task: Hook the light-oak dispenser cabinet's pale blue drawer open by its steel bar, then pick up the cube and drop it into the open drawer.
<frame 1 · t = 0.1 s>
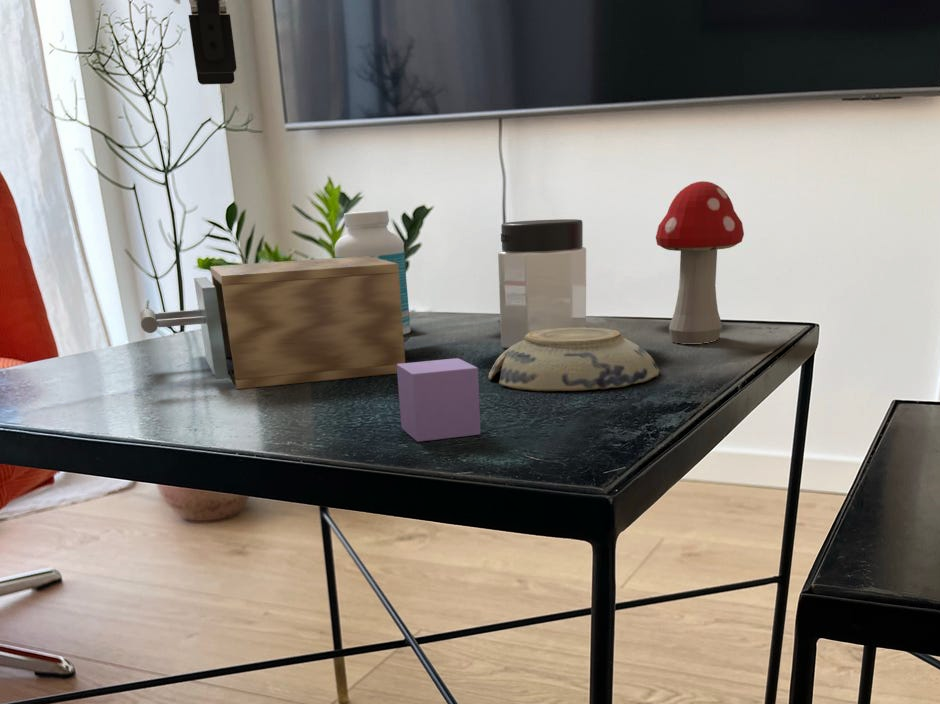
hand: (216, 78, 86), 25 cm above the table, tool pointing down, fingers open, 9 cm apart
pill bottle: (377, 345, 112), on the table
decorative mushroom: (694, 342, 105), on the table
drawer: (253, 323, 95), point 5 cm above the table, slide at 0.5 cm
cube: (440, 431, 72), on the table
jar: (543, 347, 106), on the table
decorative bowl: (572, 377, 90), on the table
cabinet: (312, 370, 98), on the table
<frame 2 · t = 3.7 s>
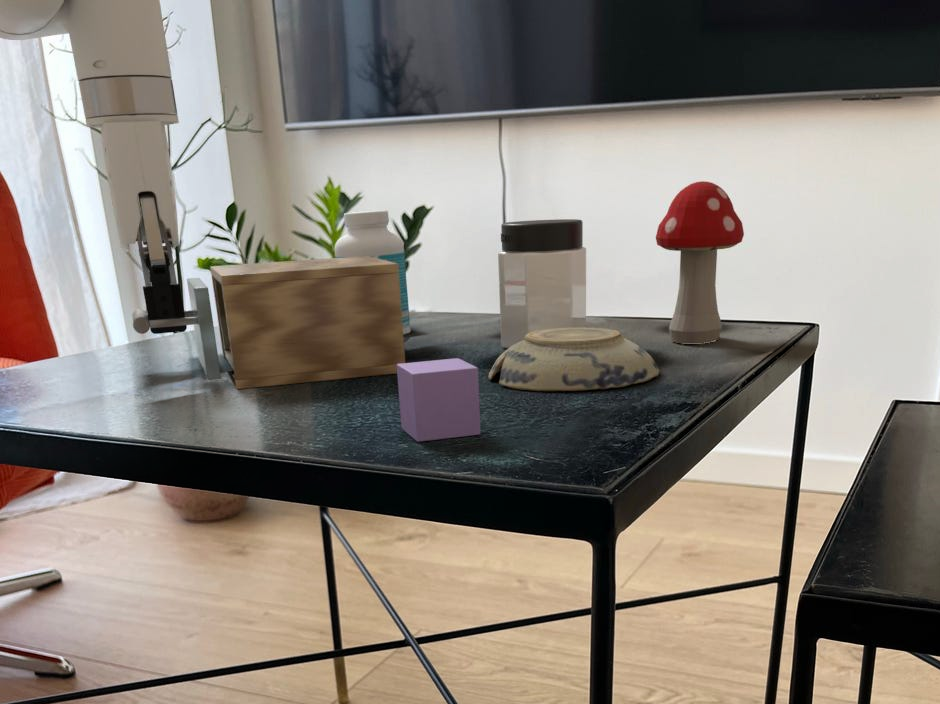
hand: (169, 331, 93), 5 cm above the table, tool pointing down, fingers closed
drawer: (246, 323, 95), point 5 cm above the table, slide at 1.2 cm, touching gripper
everything else where it was.
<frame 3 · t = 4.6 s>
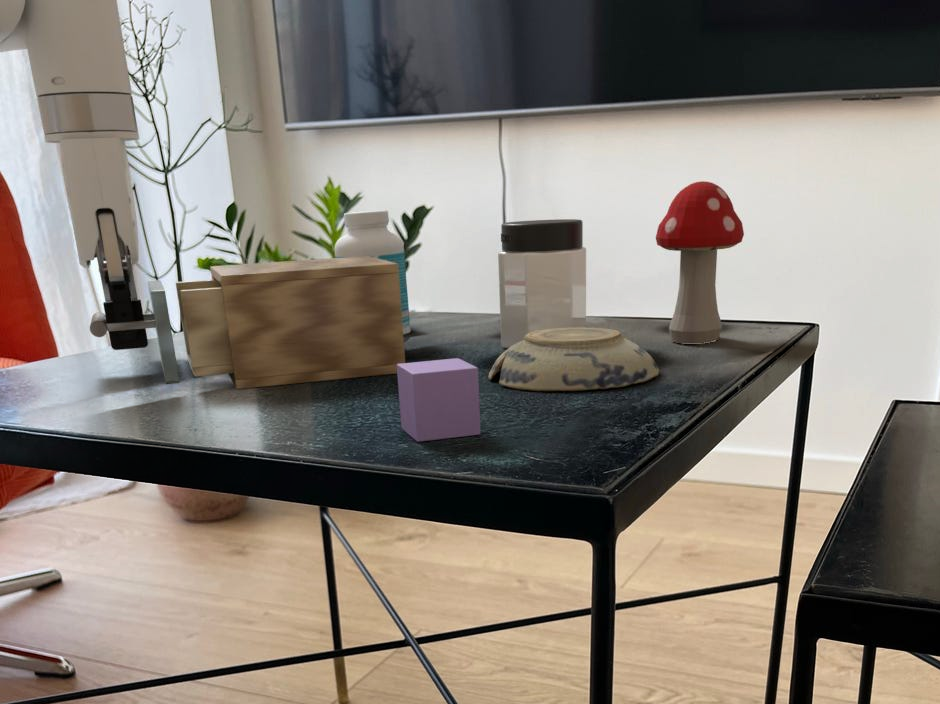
hand: (130, 347, 92), 4 cm above the table, tool pointing down, fingers closed
drawer: (206, 326, 94), point 5 cm above the table, slide at 4.8 cm, touching gripper
everything else where it was.
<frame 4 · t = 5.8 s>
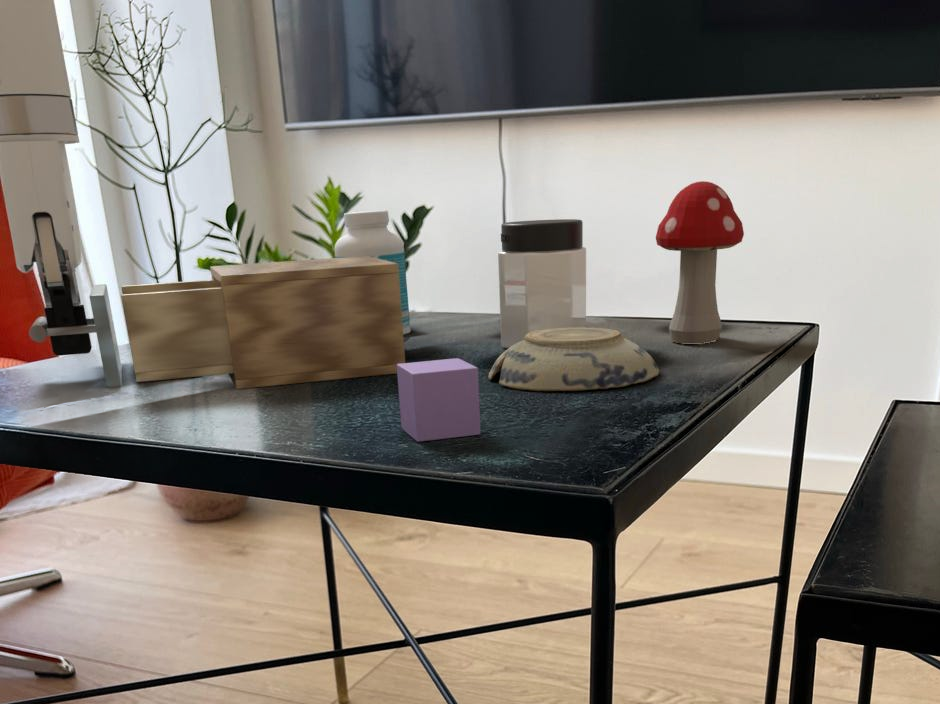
hand: (73, 352, 91), 4 cm above the table, tool pointing down, fingers closed
drawer: (151, 331, 92), point 5 cm above the table, slide at 9.7 cm, touching gripper
everything else where it was.
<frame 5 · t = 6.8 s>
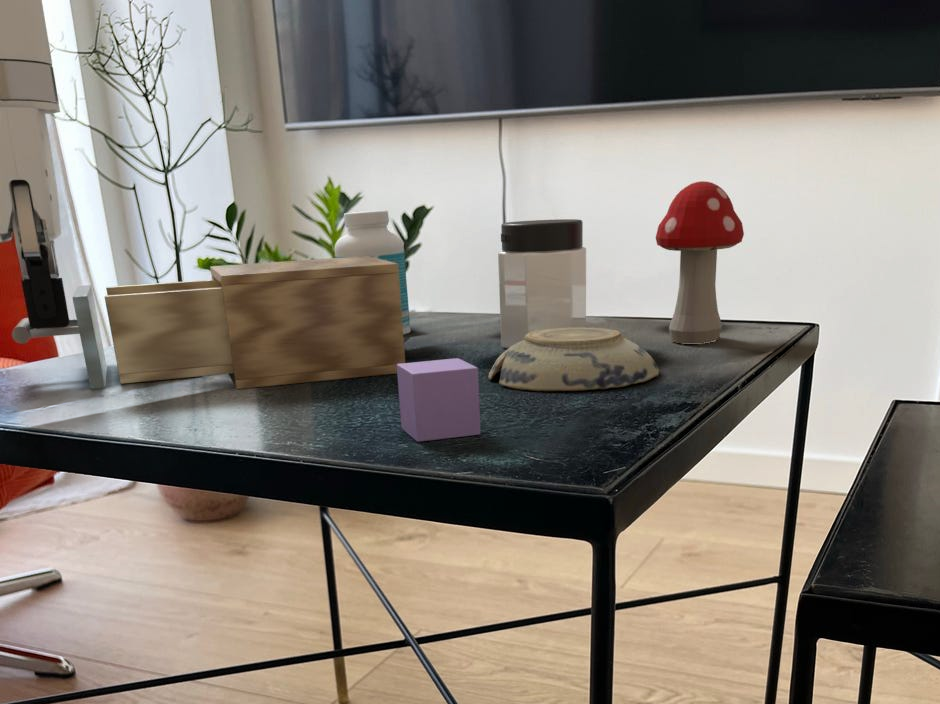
hand: (50, 326, 90), 6 cm above the table, tool pointing down, fingers closed
drawer: (136, 332, 92), point 5 cm above the table, slide at 11.0 cm
everything else where it was.
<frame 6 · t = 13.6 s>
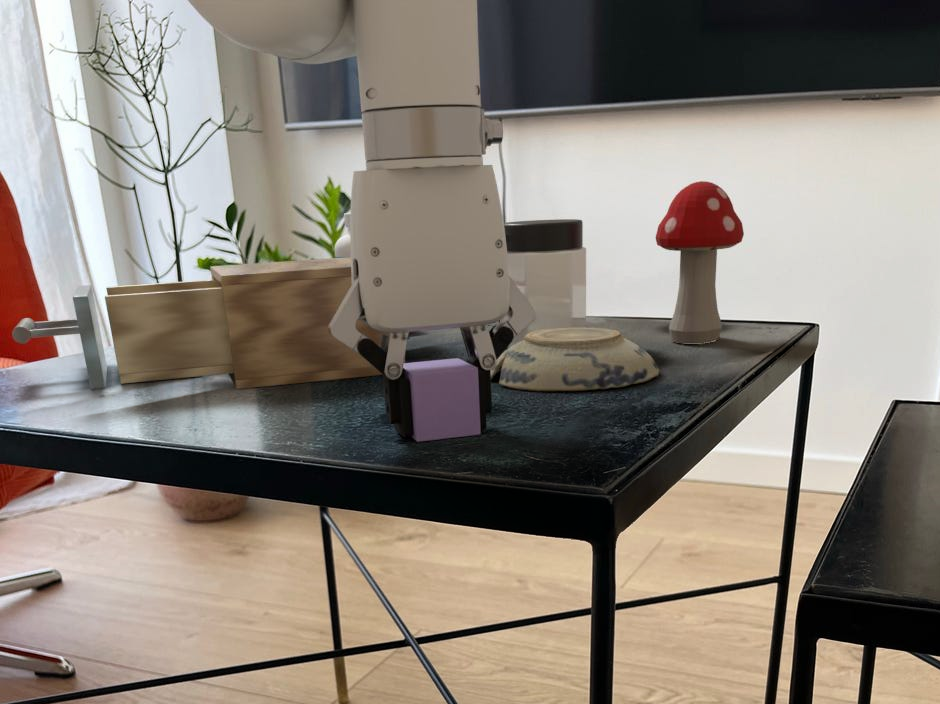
hand: (439, 426, 72), 0 cm above the table, tool pointing down, fingers closed on cube, 4 cm apart
cube: (440, 431, 72), on the table, touching gripper
everything else where it was.
when the fingers open (8 cm above the table, at t = 20.7 s): cube drops 6 cm, resting on drawer.
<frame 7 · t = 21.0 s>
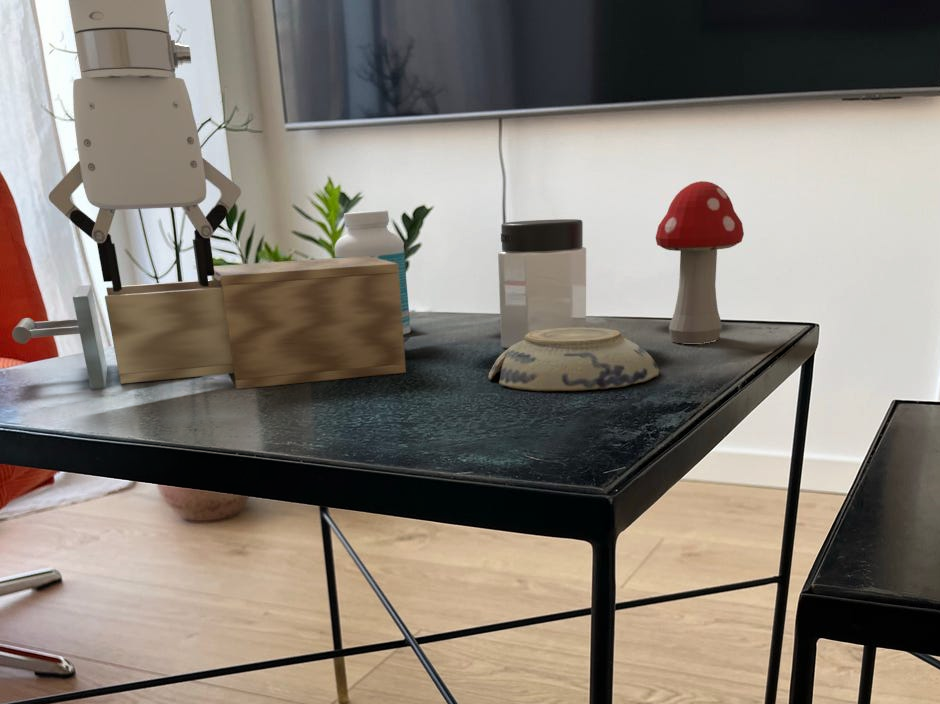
hand: (161, 286, 91), 9 cm above the table, tool pointing down, fingers open, 6 cm apart
drawer: (136, 332, 92), point 5 cm above the table, slide at 11.0 cm, touching cube
cube: (177, 360, 94), point 2 cm above the table, touching drawer
everything else where it was.
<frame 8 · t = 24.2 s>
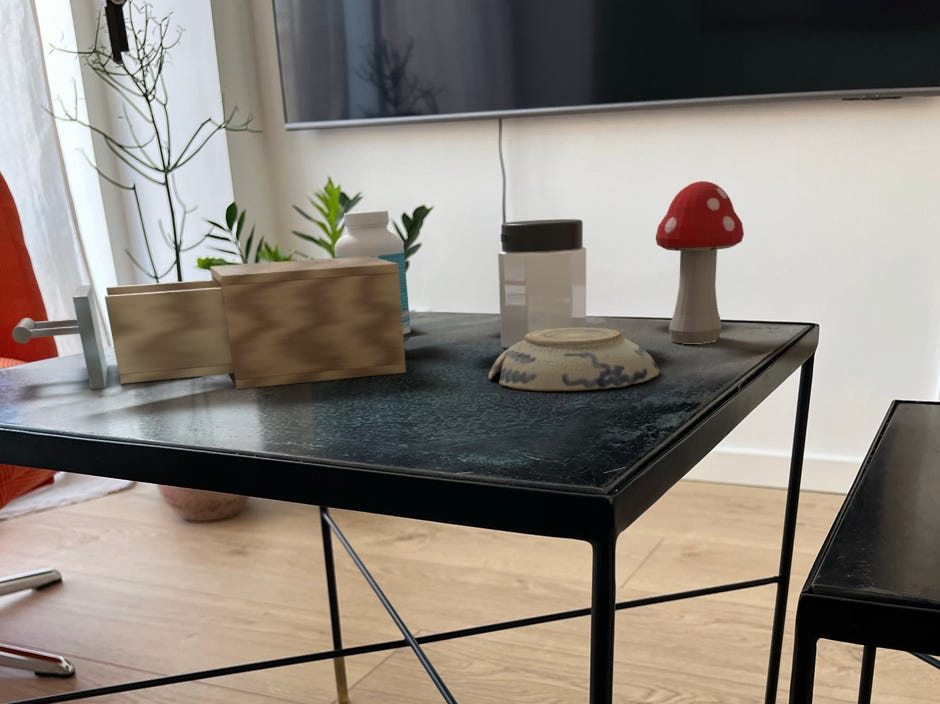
hand: (57, 63, 83), 26 cm above the table, tool pointing down, fingers open, 9 cm apart
nothing on the table moved.
at the end: drawer slide at 11.0 cm; cube inside the target area in the drawer (0.3 cm from its centre), point 2.0 cm above the cabinet's base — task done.
